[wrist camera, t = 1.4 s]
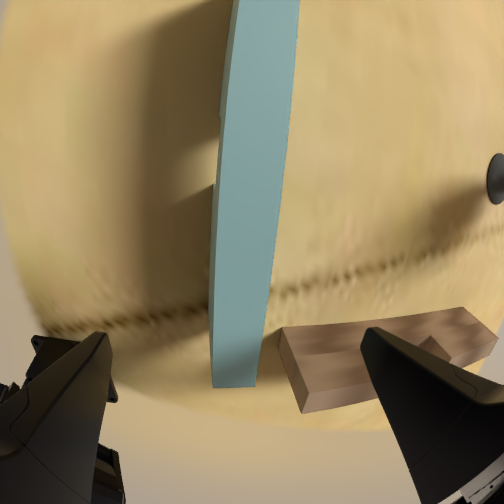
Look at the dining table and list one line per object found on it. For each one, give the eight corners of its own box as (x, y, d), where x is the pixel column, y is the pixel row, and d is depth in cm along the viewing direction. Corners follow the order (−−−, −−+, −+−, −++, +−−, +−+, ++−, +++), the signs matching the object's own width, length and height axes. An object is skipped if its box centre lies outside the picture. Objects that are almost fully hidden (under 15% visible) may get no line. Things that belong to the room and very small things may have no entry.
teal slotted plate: (239, 316, 18) (254, 386, 12) (208, 316, 17) (212, 388, 12) (270, -6, 10) (302, -62, 5) (234, -10, 10) (252, -71, 5)
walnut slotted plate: (462, 306, 22) (498, 338, 17) (455, 322, 23) (489, 355, 17) (282, 327, 19) (309, 393, 13) (278, 348, 19) (301, 413, 14)
